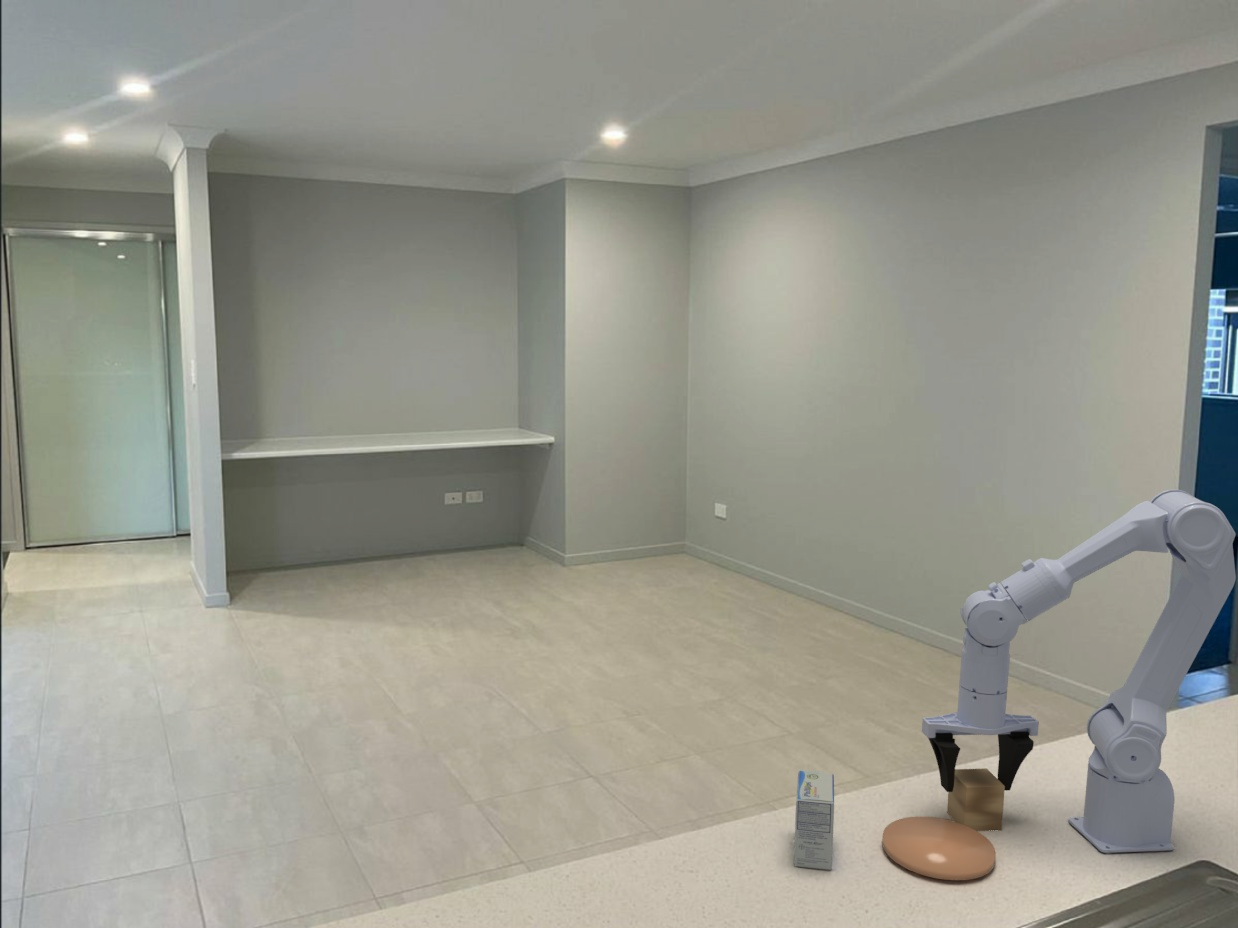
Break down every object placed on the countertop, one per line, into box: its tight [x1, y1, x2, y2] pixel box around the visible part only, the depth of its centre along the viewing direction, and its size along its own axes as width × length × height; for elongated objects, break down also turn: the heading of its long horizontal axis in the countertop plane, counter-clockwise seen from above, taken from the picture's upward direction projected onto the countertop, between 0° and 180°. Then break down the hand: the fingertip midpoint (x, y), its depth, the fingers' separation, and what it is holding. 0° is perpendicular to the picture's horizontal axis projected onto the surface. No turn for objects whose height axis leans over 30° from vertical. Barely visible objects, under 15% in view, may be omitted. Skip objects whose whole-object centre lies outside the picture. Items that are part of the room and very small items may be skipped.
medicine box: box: [794, 770, 835, 871], centre depth 120 cm, size 8×4×9 cm, turn 168°
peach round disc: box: [881, 816, 997, 881], centre depth 120 cm, size 13×13×1 cm
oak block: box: [946, 767, 1005, 832], centre depth 128 cm, size 5×5×6 cm
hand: (975, 787), depth 128 cm, fingers open, 7 cm apart
